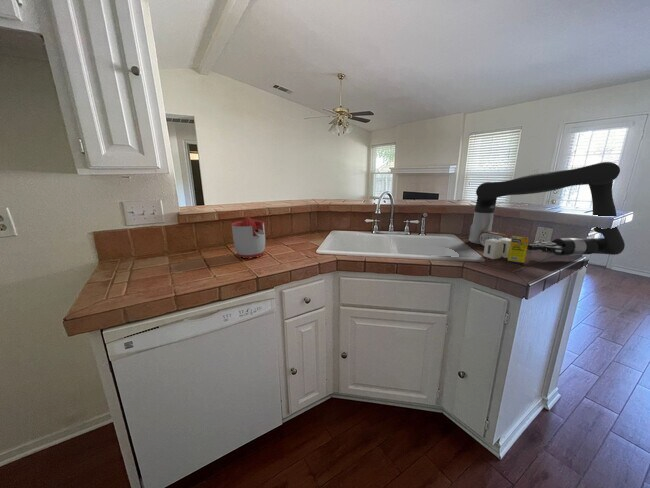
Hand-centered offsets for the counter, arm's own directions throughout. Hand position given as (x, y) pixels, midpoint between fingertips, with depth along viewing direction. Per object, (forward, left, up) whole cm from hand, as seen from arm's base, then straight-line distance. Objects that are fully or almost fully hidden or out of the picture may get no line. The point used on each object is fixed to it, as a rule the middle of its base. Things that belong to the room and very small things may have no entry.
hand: (528, 247), depth 112 cm
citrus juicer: (-55, -114, -7) cm, 126 cm away
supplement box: (-1, -4, -7) cm, 8 cm away
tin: (-20, +6, -7) cm, 22 cm away
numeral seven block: (-9, -1, -7) cm, 11 cm away
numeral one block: (-10, -8, -7) cm, 14 cm away
